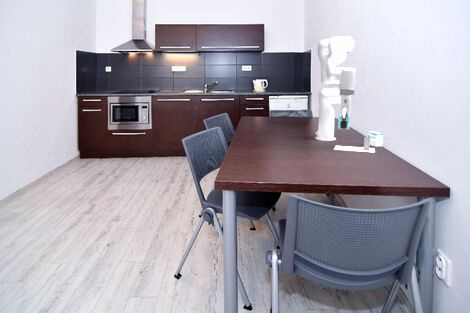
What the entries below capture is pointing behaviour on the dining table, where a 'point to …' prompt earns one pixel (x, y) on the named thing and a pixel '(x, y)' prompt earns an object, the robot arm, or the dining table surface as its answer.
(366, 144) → the post
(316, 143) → the dining table surface
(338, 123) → the pale aqua block
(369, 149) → the base board
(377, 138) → the medicine box
